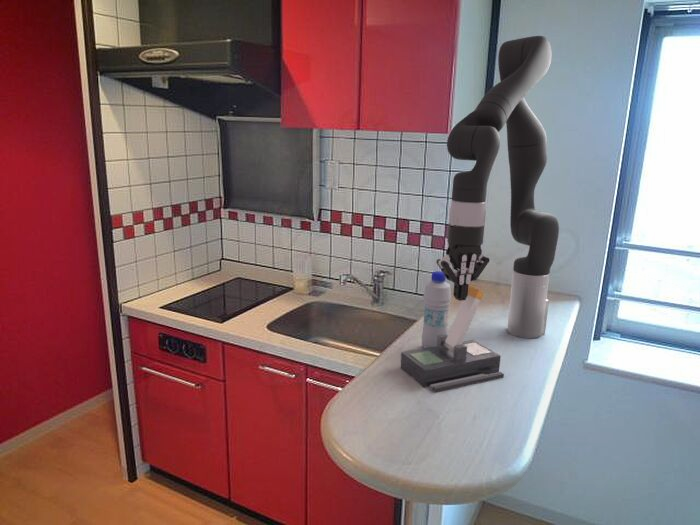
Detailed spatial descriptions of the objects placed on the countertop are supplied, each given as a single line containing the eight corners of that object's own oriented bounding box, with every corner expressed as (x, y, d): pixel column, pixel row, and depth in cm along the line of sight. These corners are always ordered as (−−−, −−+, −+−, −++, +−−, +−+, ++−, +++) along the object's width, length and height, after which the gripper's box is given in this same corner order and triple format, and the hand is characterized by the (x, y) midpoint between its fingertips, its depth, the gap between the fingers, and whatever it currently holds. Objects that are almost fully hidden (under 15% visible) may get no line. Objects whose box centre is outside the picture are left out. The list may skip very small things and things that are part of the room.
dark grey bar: (497, 373, 118) (497, 370, 118) (503, 377, 117) (503, 374, 116) (429, 388, 111) (430, 384, 111) (435, 392, 109) (435, 388, 109)
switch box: (471, 355, 128) (474, 327, 126) (499, 371, 119) (501, 342, 118) (400, 368, 120) (402, 339, 118) (424, 387, 111) (426, 356, 109)
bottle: (447, 355, 128) (452, 276, 123) (419, 352, 129) (424, 274, 124) (447, 344, 134) (453, 269, 129) (421, 342, 135) (425, 267, 131)
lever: (447, 347, 121) (472, 286, 120) (458, 354, 117) (485, 292, 116) (442, 345, 120) (467, 284, 119) (453, 353, 116) (479, 290, 115)
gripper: (480, 218, 118) (473, 291, 122) (430, 220, 113) (425, 297, 117) (502, 223, 111) (494, 301, 115) (451, 226, 106) (444, 307, 110)
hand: (460, 299), depth 116 cm, fingers closed
